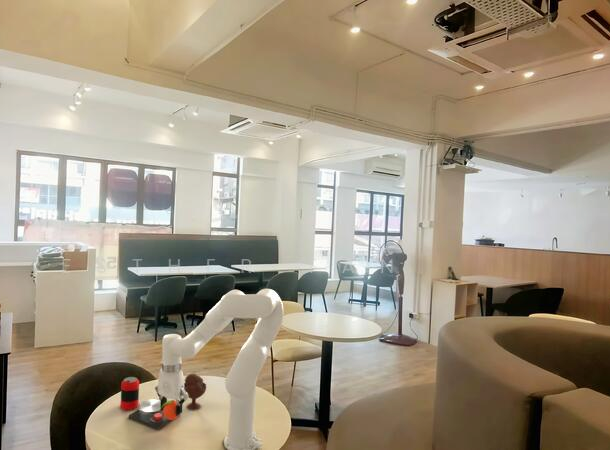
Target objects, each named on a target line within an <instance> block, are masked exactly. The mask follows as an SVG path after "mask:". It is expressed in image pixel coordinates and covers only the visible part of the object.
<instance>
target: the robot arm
mask: <svg viewBox="0 0 610 450" xmlns="http://www.w3.org/2000/svg"><path fill="white" fill-rule="evenodd" d="M284 314H285V313H284V305H283V302H282V299H281V297H280V296H279V294H278V293H277V292H276V291H275V290H273V289H271V288H262V289H260V290H259V291H258V292H257V293H251V294H250V293H249V294H247V293H246V294H245V293H244V292H243V291H241V290H239V289H232V290H230V291H228V292H227V293H226V294H224V295H223V296H222V297H221V299H220V300H219V301H218V302H217V303H216V304H215V305H214V306H213V307H212V308H211V309H210V310H209V311H208V312H207V313H206V314H205V317H204V319H203V320H202V321H201V322H200V323H199V324H198V325H197V326H196V327H195V328H194V329H193V330H192V331H191V332H190V333H189V334H187V335H186V336H185V337H183V338H182V336H181V335H180V334H177V333H169V334H165V335H164V336H163V337H162V344H161V346H162V347H161V361H160V365H161V368H160V370H159V374H158V381H157V386H155V387H154V390H155V392H156V394H157V396H158V400H161V407H162V406H163V404H165V403H166V402H168V399H170V400H175V401H176V403H177V405H176V416H178V415H179V416H180V415H181V414H182V413H183V404H184V403H185V402H186V401H187V400H188V399H189V395H188V394H187V393H186V391H185V390H184V383H185V378H184V373H183V372H184V371H183V370H182V359H186V360H187V359H192V358H194V357H195V356H196V355H197V354H198V353H199V352H200V351H201V350H202V349H203V348H204V347H205V345H207V344H208V343H209V341H211V340H212V338H214V337H215V336H216V335H217V334H218V333H220V332H222V331H223V330H224V329H225V328H226V327H227V326H228V325H229V324H230V323H231V322H232V321H233V320H234V319H258V320H257V322H256V324H255V326H254V328H253V330H252V332H251V333H250V336H249V337H248V339H247V340H246V341H245V342H244V344H243V345H242V347H241V348H240V350H239V352H238V354H237V356H236V358H235V360H234V361H233V364H232V366H231V367H230V369H229V371H228V372H227V374H226V377H225V381H224V384H225V389H226V391H227V393H228V394H229V408H228V410H229V411H228V431H227V435H226V436H224V438H223V446H224V448H225V449H227V450H256V449H259V450H262V448H263V445H264V444H263V439H261V438H258V437H257V432H255V431H254V430H255V428H254V427H255V411H256V410H255V408H256V407H255V406H256V390H257V382H258V381H257V380H258V377H259V375H260V373H261V372H262V370H263V367H264V366H265V364H266V361H267V358H268V356H269V353H270V350H271V347H272V345H273V343H274V342H275V340H276V338H277V335H278V333H279V332H280V329H281V327H282V324H283V322H284V321H283V320H284ZM164 406H165V405H164ZM164 406H163V407H162V408H161V409H160V410H161V411H163V408H164ZM179 416H178V417H179Z"/></svg>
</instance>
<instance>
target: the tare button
mask: <svg viewBox="0 0 610 450" xmlns="http://www.w3.org/2000/svg"><path fill="white" fill-rule="evenodd" d="M161 419H162V414H161V413H156V414H155V415H154V420H156V421H159V420H161Z"/></svg>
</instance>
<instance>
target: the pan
mask: <svg viewBox="0 0 610 450" xmlns="http://www.w3.org/2000/svg"><path fill="white" fill-rule="evenodd" d="M160 409H161V400H159V399H156V398H155V399H154V398H153V399H152V398H151V399H145V400H143V401H141V402H140V403H138V407H137V410H139V411H140V412H142V413H145V414H154V413H158V412H160V411H161V410H160Z"/></svg>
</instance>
